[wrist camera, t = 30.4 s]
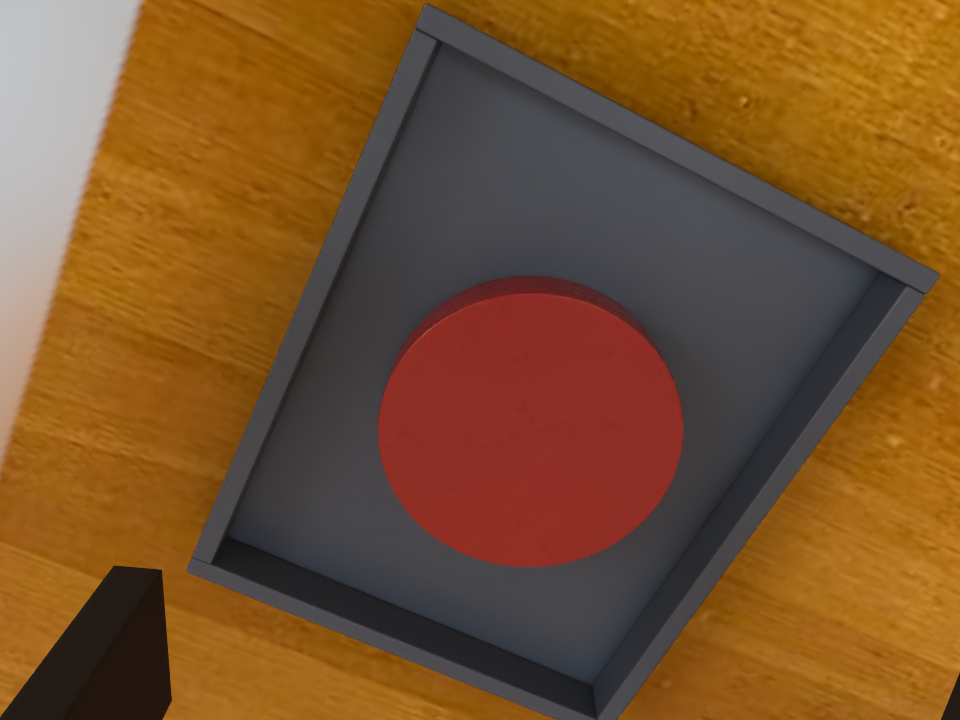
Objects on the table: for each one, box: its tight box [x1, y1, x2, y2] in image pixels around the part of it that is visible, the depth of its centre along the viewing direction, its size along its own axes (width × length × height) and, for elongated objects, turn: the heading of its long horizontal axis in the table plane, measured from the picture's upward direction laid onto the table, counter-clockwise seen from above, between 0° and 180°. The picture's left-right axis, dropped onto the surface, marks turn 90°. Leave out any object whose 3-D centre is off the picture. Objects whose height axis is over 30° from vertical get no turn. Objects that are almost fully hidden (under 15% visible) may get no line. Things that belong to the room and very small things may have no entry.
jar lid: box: [377, 276, 684, 567], centre depth 22 cm, size 8×8×2 cm
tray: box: [187, 3, 940, 720], centre depth 22 cm, size 17×14×2 cm
